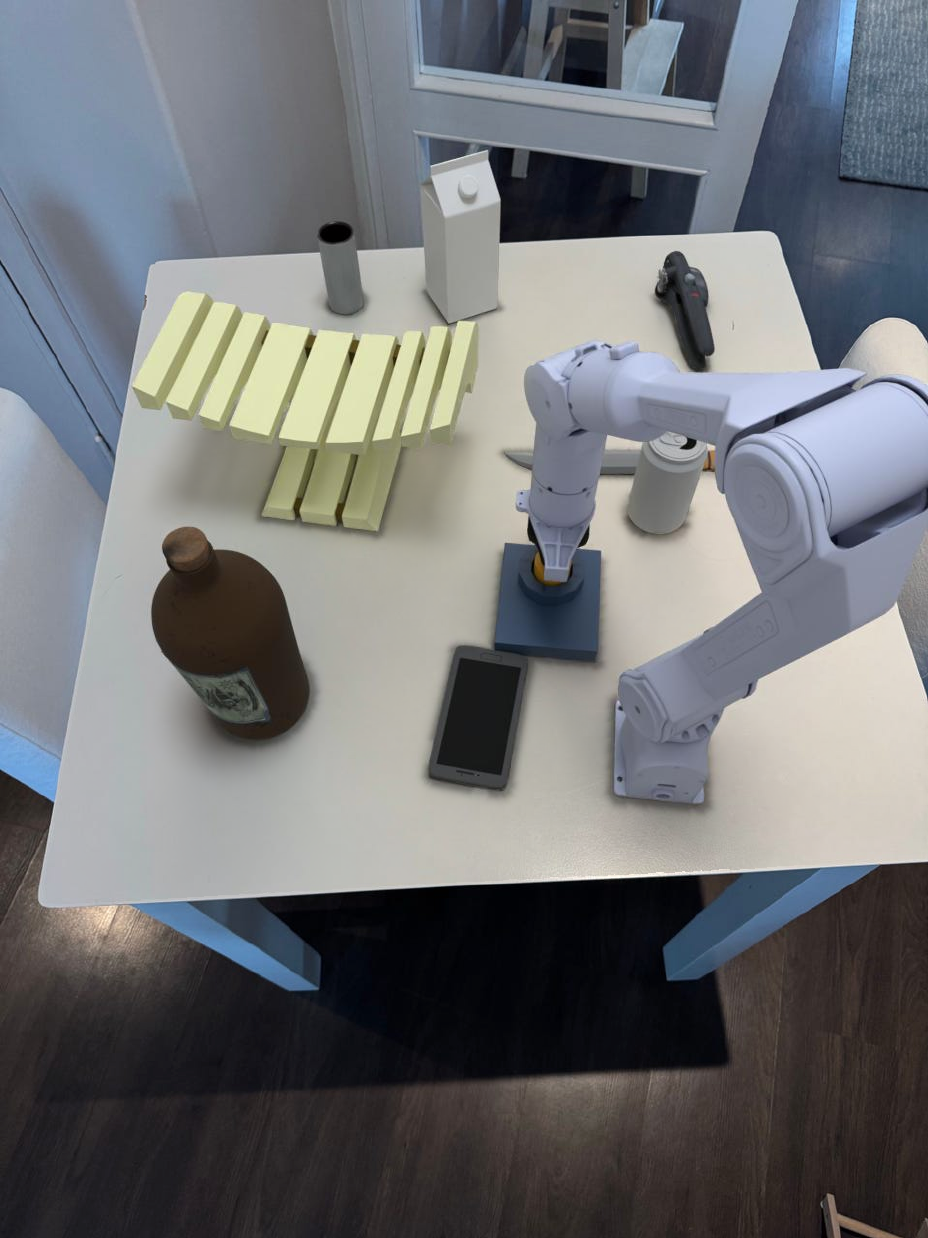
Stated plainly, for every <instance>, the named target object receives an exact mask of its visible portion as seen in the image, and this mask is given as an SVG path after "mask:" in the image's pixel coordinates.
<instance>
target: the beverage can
mask: <svg viewBox="0 0 928 1238" xmlns="http://www.w3.org/2000/svg"><path fill="white" fill-rule="evenodd" d="M640 450H641V452H640V456H639V460H638V464H637V468H636V472H635V474H634V477H633V481H632V485H631V490H630V494H629V497H628V501H627V514H628V517H629V518H630V520H631V522H632V523H633V524H634V525H635V526H636V527H638V528H639V529H641V530H642V531H645V532H648V533H651V534H655V535H657V534H658V535H661V534H662V535H663V534H664V535H665V534H670V533H672V532H675V531H676V530H678V529H679V528H680V527H681V526H682V525H683V524H684V523H685V521H686V519H687V516H688V514H689V510H690V507H691V504H692V501H693V498H694V495H695V493H696V489H697V487H698V484H699V481H700V478H701V475H702V472H703V470H704V469H703V467H704V464H705V461H706V458H707V454H708V450H709V449H708V444H707V443H704V442H701V441H698V440H695V439H692V438H688V437H685V436H682V435H679V434H676V433H673V432H670V431H667V432H666V433H665V434H664V435H662V436H661V437H659V438H657V439H655V440H652V441H648V442H641V447H640Z"/></svg>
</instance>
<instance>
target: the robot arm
mask: <svg viewBox="0 0 928 1238" xmlns="http://www.w3.org/2000/svg"><path fill="white" fill-rule="evenodd" d="M867 375H869V373H868V372H866V371H862V370H858V369H854V368H850V367H849V368H848V367H843V368H842V367H841V368H829V369H815V370H814V369H813V370H802V371H788V372H681V371H680V369H679V367H678V365H676V363H675V362H674V360H672V359H671V358H669V357H668V356H667V355H664V354H662V353H660V352H655V351H640V348H639V343H638V342H637V341H625V342H622V343H620V344H618V345H617V344H616V345H612V344H611V343H608V342H603V341H601V340H598V339H591V340H589V341H586V342H584V343H581V344H579V345H576V346H573V347H570V348H568V349H566V350H564V351H561V352H558V353H556V354H553V355H551V356H548V357H545V358H543V359H541V360H538V361H536V362H535V363H534V364H531V365H529V366H527V368H526V369H525V372H524V376H523V390H524V395H525V396H524V397H525V399H526V404H527V406H528V409H529V412H530V414H531V416H532V418H533V420H534V421H535V432H534V444H533V452H532V453H533V463H532V469H531V476H530V477H531V478H530V487H529V488H530V489H520V490H518V491H517V492H516V498H515V510H516V511H517V512H519V513H525V514H527V515H528V517H527V529H526V535H527V538H528V541H529V542H531V543H532V544H533V545H536V547H537V549H538V552H539V556H540V560H541V562H542V565H543V566H545V571H544V580H547V581H557V582H567V578H568V572H569V565H570V562H571V559H572V557H573V555H574V553H575V551H576V549H580V548H582V547H584V546H586V545H587V543H588V542H589V539H590V529H591V522H592V520H593V518H594V516H595V512H596V508H597V502H596V501H597V500H596V495H597V491H598V486H599V481H600V476H601V474H600V470H601V465H602V460H603V455H604V450H606V444H607V440H608V436H609V437H615V438H617V439H624V440H628V441H632V442H638V443H643V442H648V441H652V440H655V439H657V438H659V437H661V436H662V435H664V434H665V433H666V432H667V431H670V432H673V433H676V434H679V435H682V436H685V437H688V438H692V439H695V440H698V441H701V442H704V443H707V445H710V446H714V450H715V457H714V465H715V469H714V476H715V482H716V487H717V490H718V492H719V493H720V494H722V495H724V498H725V501H726V504H727V508H728V510H729V512H730V515H731V517H732V518H733V522H734V524H735V526H736V529H737V532H738V534H739V537H740V539H741V542H742V545H743V548H744V550H745V553H746V556H747V558H748V560H749V563H750V566H751V569H752V572H753V573H754V575H755V578H756V581H757V584H758V586H759V589H760V591H761V592H760V593H758V594H757V595H755V596H754V597H753V598H752V599H750V600H749V601H747V602H746V603H745V604H743V605H742V606H741V607H739V608H738V609H736V610H735V611H734V612H732V613H731V614H729V615H728V616H727V617H725V618H723V620H721V621H720V622H719V623H717V624H716V625H714V626H712V627H709V628H708V629H706V630H704V631H703V632H702V633H701V634H700V635H698V636H696V637H694V638H692V639H690V640H688V641H686V642H684V643H682V644H680V645H678V646H676V647H674V648H672V649H670V650H668V651H666V652H664V653H663V654H661V655H658V656H657V657H654V658H653V659H651V660H649V661H647V662H645V663H643V664H641V665H639V666H637V667H635V668H633V669H630V668H629V669H627V670H624V671H623V672H621V674H620V675H619V676H618V684H617V695H618V699H617V700H616V701H615V704H614V747H613V748H614V752H613V793H614V795H615V796H617V797H622V798H623V797H624V798H633V799H634V798H635V799H643V800H653V801H663V802H671V803H673V802H674V803H682V804H690V805H691V804H692V805H701V804H703V802H704V801H705V785H706V783H707V781H708V778H709V777H708V776H709V764H708V763H709V762H708V750H709V745H710V741H711V738H712V735H713V733H714V731H715V730H716V727H717V725H719V722H720V721H721V719H722V716H723V714H724V711H725V709H726V708H727V707H729V706H731V705H733V704H734V703H737V702H738V701H740V700H741V699H742V700H744V699H747V698H748V697H751V696H752V695H753V694H754V693H755V691H756V690H757V687H758V683H759V680H760V679H762V678H764V677H766V676H768V675H770V674H772V673H774V672H776V671H778V670H780V669H782V668H784V667H786V666H788V665H789V664H791V663H794V662H796V661H798V660H800V659H801V658H803V657H806V656H808V655H810V654H812V653H814V652H815V651H818V650H820V649H821V648H823V647H825V646H828V645H830V644H831V643H833V642H835V641H837V640H839V639H841V638H843V637H845V636H846V635H849V634H851V633H852V632H854V631H856V630H858V629H860V628H862V627H864V626H865V625H868V624H869V623H871V622H873V621H874V620H877V619H879V618H880V617H882V616H884V615H886V614H887V613H888V612H889V611H890V610H891V609H892V608H894V606H895V605H896V603H897V601H898V599H899V597H900V594H901V592H902V589H903V588H904V585H905V582H906V580H907V577H908V574H909V573H910V570H911V568H912V566H913V563H914V562H915V559H916V556H917V554H918V551H919V549H920V547H921V544H922V542H923V539H924V537H925V535H926V532H927V530H928V385H927V384H926V383H925V382H923V381H921V380H919V379H917V378H916V377H912V376H909V375H906V374H900V373H898V374H897V373H894V374H893V373H891V374H884V375H882V376H879V377H876V378H874V379H873V380H871V381H869V382H867V383H865V384H863V385H862V386H861V387H860V389H858V390H856V389H854V386H855V385H856V383H858V382H859V381H860V380H861V379H862V378H864V377H866V376H867ZM559 580H560V581H559ZM620 709H622V710H620ZM618 779H621V781H619V780H618Z"/></svg>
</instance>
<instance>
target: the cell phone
mask: <svg viewBox="0 0 928 1238" xmlns="http://www.w3.org/2000/svg"><path fill="white" fill-rule="evenodd" d="M528 664H529V660H528V656H523V655H520V654H515V653H509V652H503V651H497V650H494V649H491V648H484V647H478V646H474V645H473V646H472V645H463V644H462V645H461V644H459V645H458V646H456V647H455V650H454V653H453V656H452V661H451V666H450V670H449V673H448V674H449V675H448V679H447V683H446V687H445V692H444V696H443V701H442V705H441V709H440V714H439V716H438V722H437V727H436V731H435V735H434V739H433V744H432V748H431V753H430V756H429V761H428V768H427V769H428V774H429V776H430V777H432V778H434V779H437V780H442V781H446V782H452V783H458V784H464V785H468V786H474V787H478V788H479V787H480V788H484V789H490V790H495V791H496V790H503V789H505V788H506V786H507V783H508V779H509V774H510V771H511V770H510V769H511V764H512V759H513V754H514V748H515V747H514V746H515V742H516V735H517V731H518V725H519V719H520V713H521V707H522V701H523V697H524V690H525V684H526V678H527V673H528V667H529V665H528Z"/></svg>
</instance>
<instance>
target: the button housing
mask: <svg viewBox="0 0 928 1238" xmlns="http://www.w3.org/2000/svg"><path fill="white" fill-rule="evenodd" d="M503 547H504V548H503V556H502V566H501V576H500V586H499V595H498V605H497V615H496V623H495V632H494V633H495V634H494V643H493V645H494V647H493V650H497V651H503V652H509V653H515V654H520V655H523V656H525V657H535V658H546V659H556V660H567V661H578V662H588V663H589V662H590V663H596V661H597V657H598V653H599V634H600V633H599V631H600V604H601V603H600V602H601V601H600V599H601V570H602V569H601V568H602V567H601V566H602V563H601V562H602V550H600V549H589V548H588V549H587V548H577V549H576V551H575V553H574V555H573V557H572V559H571V569H570V575H569V578H568V580H567V582H565V583H564V584H561V585H559V586H548V585H544V584H542V583H541V582H539V581H537V580H536V578H535V576H534V563H535V557H536V554H537V553H538V549H537V547H536V545H535V544H526V543H513V542H504V546H503Z"/></svg>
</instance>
